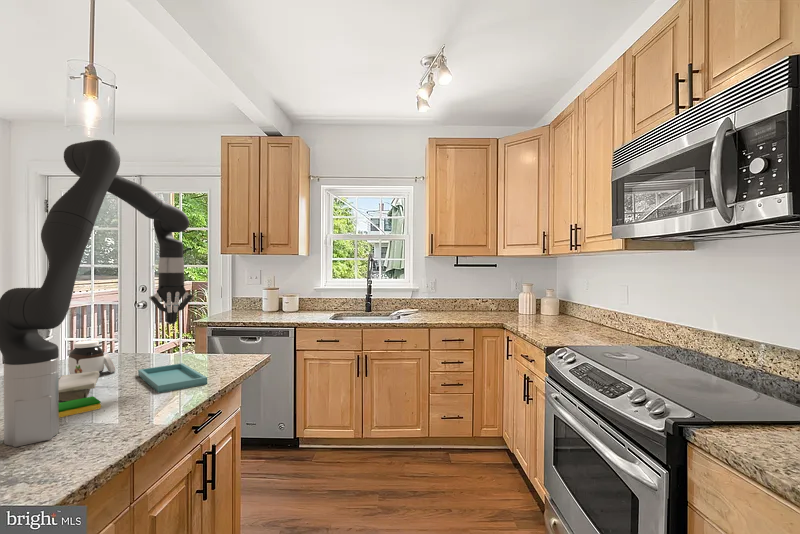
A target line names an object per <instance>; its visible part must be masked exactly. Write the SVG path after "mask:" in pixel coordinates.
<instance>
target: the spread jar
mask: <svg viewBox="0 0 800 534" xmlns="http://www.w3.org/2000/svg"><path fill="white" fill-rule="evenodd" d="M99 344H100V343H99V340H81V341H76V342H74V343H73V349H72V350H71V351H70V352H69V354H68V359H67V360H68V364H67V365H68V367H67V368H68V373H69V375H70V374H77V373H85V372H92V371H99V374H100V375H101V374H102V373H103V371H104V369H105V368H106V370H107V371H108V372H109V373H110V374H112V373H115V372H116V366H115V364H114V362H113V360H112V358H111V356H110V355H109V354H108V353H106V354H105V353H104V351H103V349H102V348H101V347H100V346H99Z"/></svg>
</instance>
